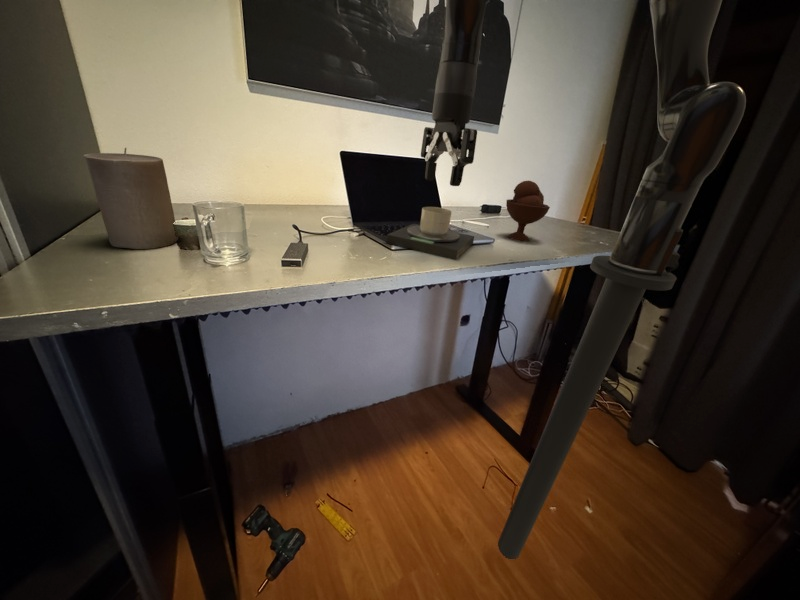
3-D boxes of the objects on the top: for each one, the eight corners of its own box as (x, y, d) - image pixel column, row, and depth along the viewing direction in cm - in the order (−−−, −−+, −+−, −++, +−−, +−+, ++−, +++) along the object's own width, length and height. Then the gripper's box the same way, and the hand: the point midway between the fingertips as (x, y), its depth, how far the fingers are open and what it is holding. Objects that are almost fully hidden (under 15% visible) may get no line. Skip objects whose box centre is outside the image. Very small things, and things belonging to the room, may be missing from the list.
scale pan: (465, 234, 77) (465, 232, 77) (450, 245, 67) (451, 242, 67) (418, 225, 81) (418, 222, 81) (398, 234, 71) (398, 231, 71)
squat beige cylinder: (451, 232, 76) (455, 210, 73) (442, 237, 70) (446, 214, 68) (425, 226, 78) (428, 205, 76) (415, 231, 72) (417, 208, 70)
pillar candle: (170, 231, 63) (153, 147, 57) (185, 245, 57) (168, 152, 51) (105, 237, 57) (77, 142, 50) (114, 253, 51) (84, 148, 44)
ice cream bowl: (536, 246, 83) (554, 185, 76) (493, 237, 88) (507, 178, 81) (542, 239, 91) (558, 183, 85) (503, 231, 96) (516, 177, 90)
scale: (472, 244, 79) (474, 234, 78) (455, 259, 66) (458, 248, 65) (412, 231, 84) (413, 222, 83) (386, 243, 72) (387, 233, 71)
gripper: (495, 95, 59) (477, 188, 66) (445, 99, 70) (435, 179, 77) (464, 88, 55) (449, 187, 62) (417, 93, 66) (408, 177, 73)
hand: (441, 182), depth 69 cm, fingers open, 8 cm apart
